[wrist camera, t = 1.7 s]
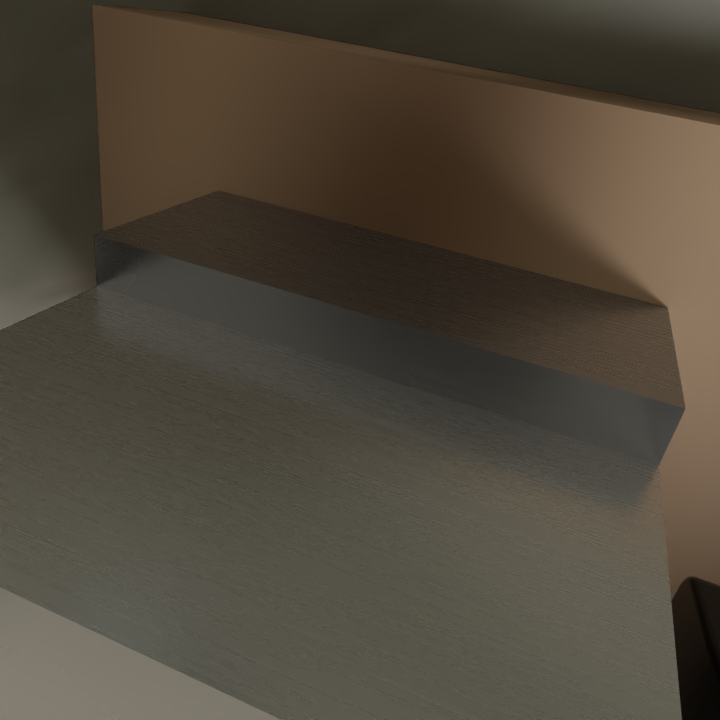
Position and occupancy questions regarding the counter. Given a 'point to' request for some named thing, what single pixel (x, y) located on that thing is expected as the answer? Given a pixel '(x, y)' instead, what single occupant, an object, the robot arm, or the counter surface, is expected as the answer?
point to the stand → (439, 182)
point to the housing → (332, 483)
